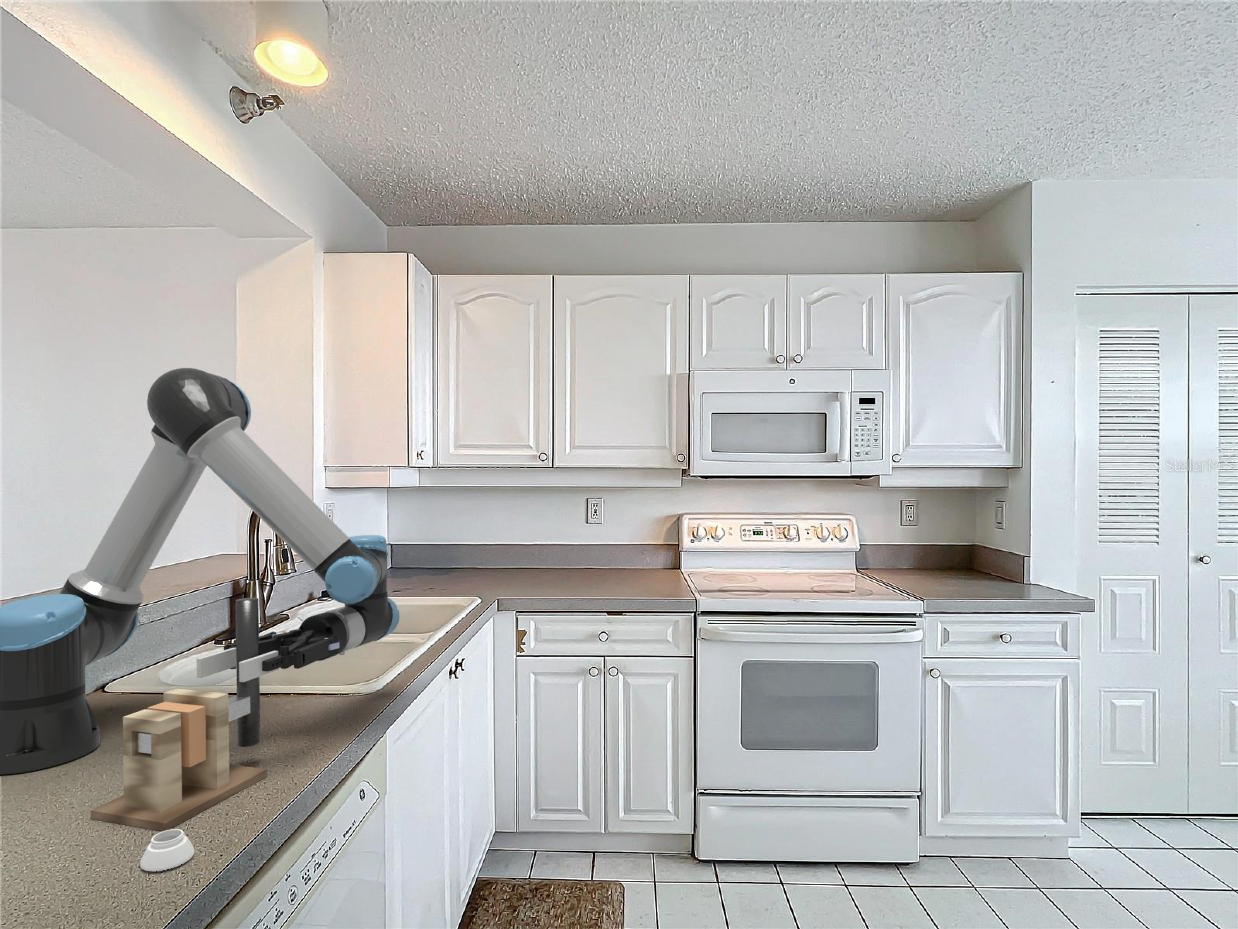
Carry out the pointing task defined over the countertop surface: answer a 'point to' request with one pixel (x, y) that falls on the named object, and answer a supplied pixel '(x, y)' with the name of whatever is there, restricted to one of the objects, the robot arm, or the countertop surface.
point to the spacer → (189, 730)
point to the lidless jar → (167, 851)
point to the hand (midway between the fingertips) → (220, 670)
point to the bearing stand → (175, 767)
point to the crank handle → (248, 692)
